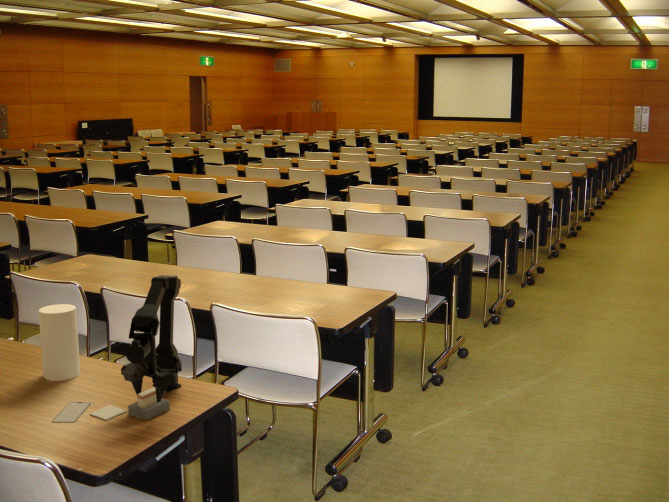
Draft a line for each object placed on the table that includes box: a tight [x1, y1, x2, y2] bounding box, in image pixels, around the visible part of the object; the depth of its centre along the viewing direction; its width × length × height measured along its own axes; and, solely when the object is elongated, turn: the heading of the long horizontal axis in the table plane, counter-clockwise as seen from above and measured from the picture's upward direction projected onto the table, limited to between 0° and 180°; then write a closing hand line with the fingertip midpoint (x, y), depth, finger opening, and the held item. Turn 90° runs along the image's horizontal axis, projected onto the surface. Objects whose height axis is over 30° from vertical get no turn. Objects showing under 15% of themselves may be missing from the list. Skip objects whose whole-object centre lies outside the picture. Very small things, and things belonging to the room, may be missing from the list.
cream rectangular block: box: [136, 386, 157, 408], centre depth 224 cm, size 7×2×7 cm, turn 147°
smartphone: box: [51, 401, 92, 424], centre depth 224 cm, size 7×1×15 cm
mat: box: [89, 404, 128, 422], centre depth 223 cm, size 8×8×1 cm
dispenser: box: [127, 397, 171, 421], centre depth 224 cm, size 10×8×3 cm
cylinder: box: [38, 303, 81, 382], centre depth 254 cm, size 12×12×25 cm
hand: (148, 399), depth 224 cm, fingers open, 9 cm apart
